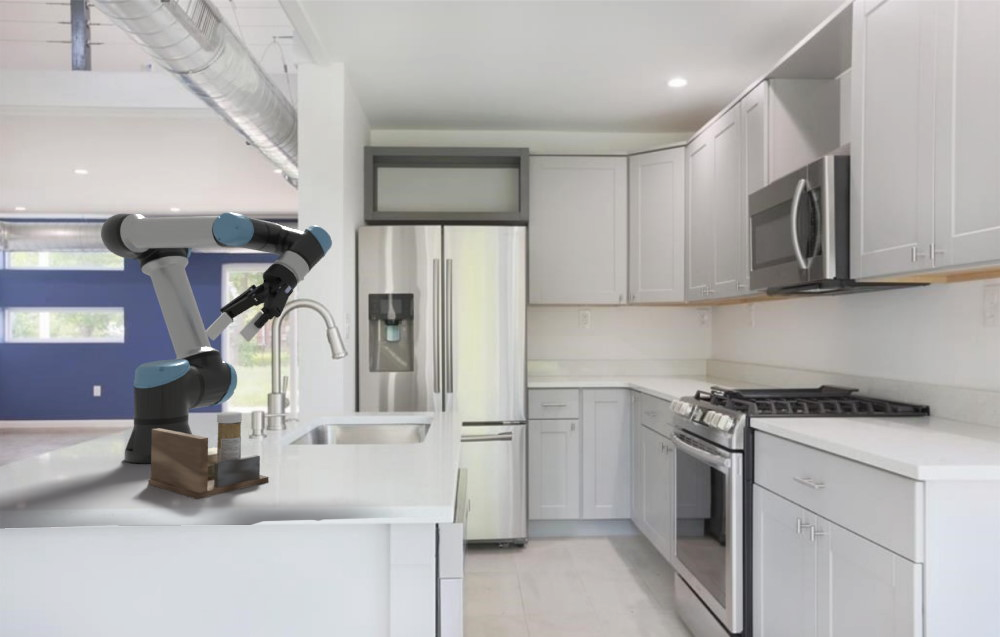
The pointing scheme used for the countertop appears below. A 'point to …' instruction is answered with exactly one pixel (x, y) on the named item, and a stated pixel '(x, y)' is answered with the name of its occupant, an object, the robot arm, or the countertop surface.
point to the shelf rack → (197, 466)
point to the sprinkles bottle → (229, 436)
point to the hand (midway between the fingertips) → (226, 336)
